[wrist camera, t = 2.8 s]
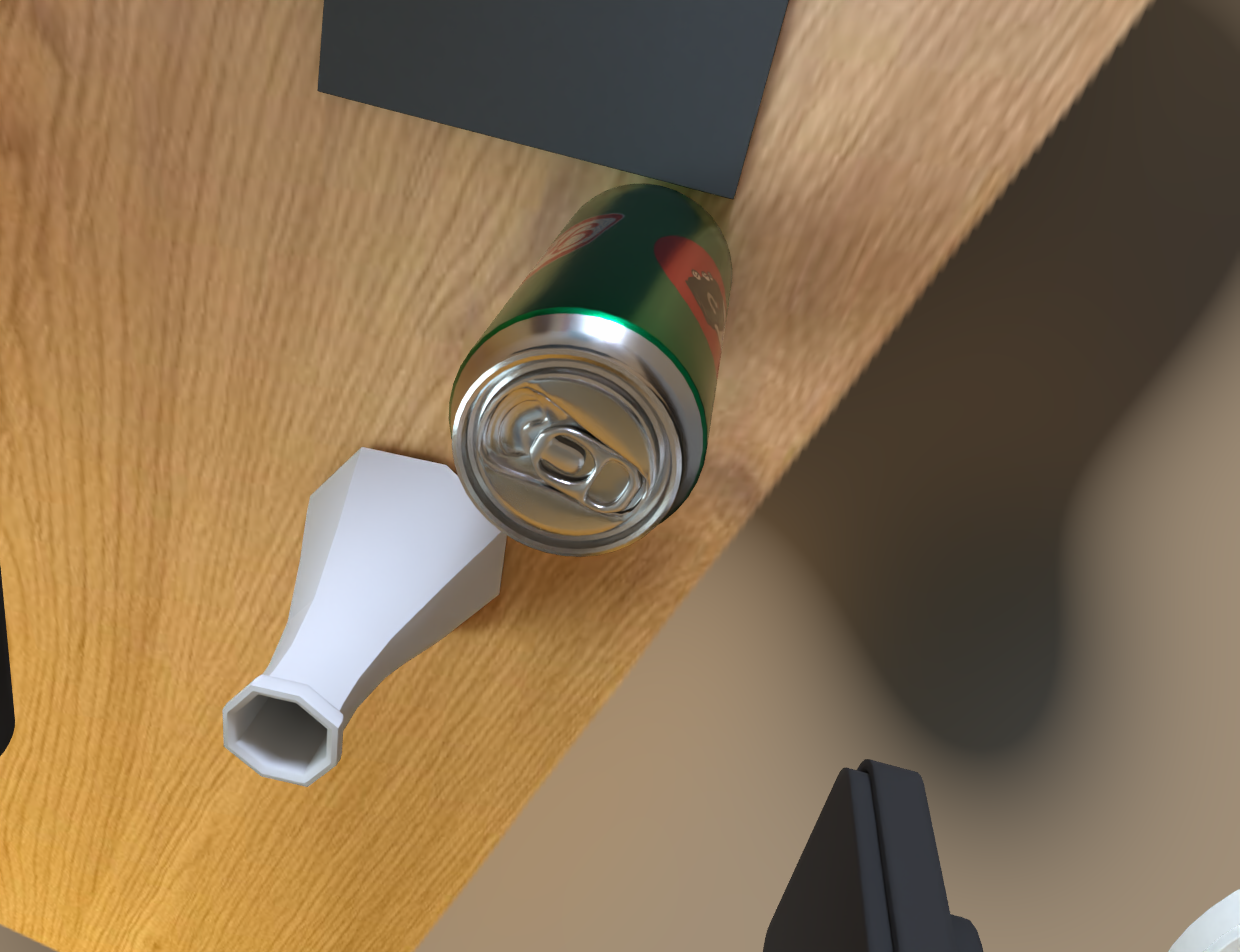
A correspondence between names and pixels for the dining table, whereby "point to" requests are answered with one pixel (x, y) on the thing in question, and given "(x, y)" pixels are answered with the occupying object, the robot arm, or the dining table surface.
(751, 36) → the mat
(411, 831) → the dining table surface
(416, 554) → the flask
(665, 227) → the soda can
